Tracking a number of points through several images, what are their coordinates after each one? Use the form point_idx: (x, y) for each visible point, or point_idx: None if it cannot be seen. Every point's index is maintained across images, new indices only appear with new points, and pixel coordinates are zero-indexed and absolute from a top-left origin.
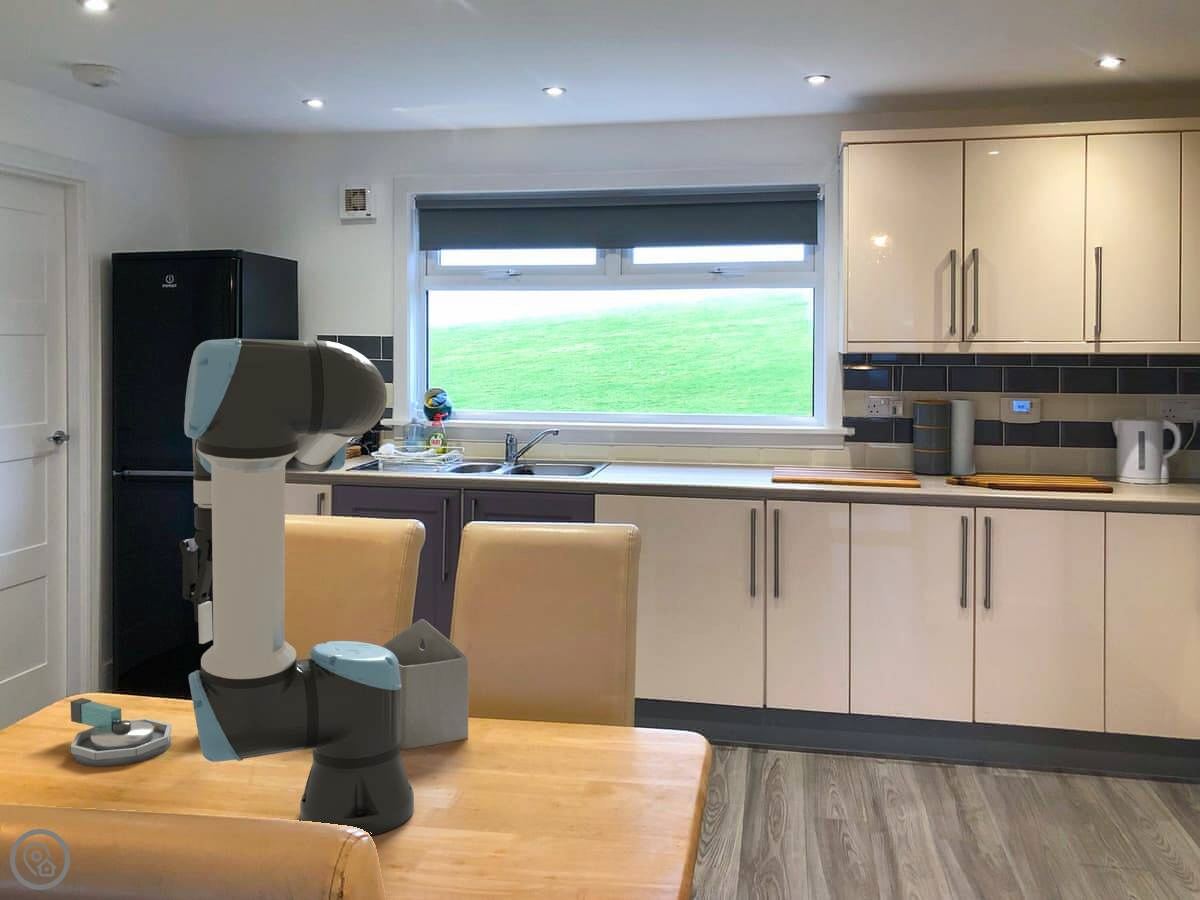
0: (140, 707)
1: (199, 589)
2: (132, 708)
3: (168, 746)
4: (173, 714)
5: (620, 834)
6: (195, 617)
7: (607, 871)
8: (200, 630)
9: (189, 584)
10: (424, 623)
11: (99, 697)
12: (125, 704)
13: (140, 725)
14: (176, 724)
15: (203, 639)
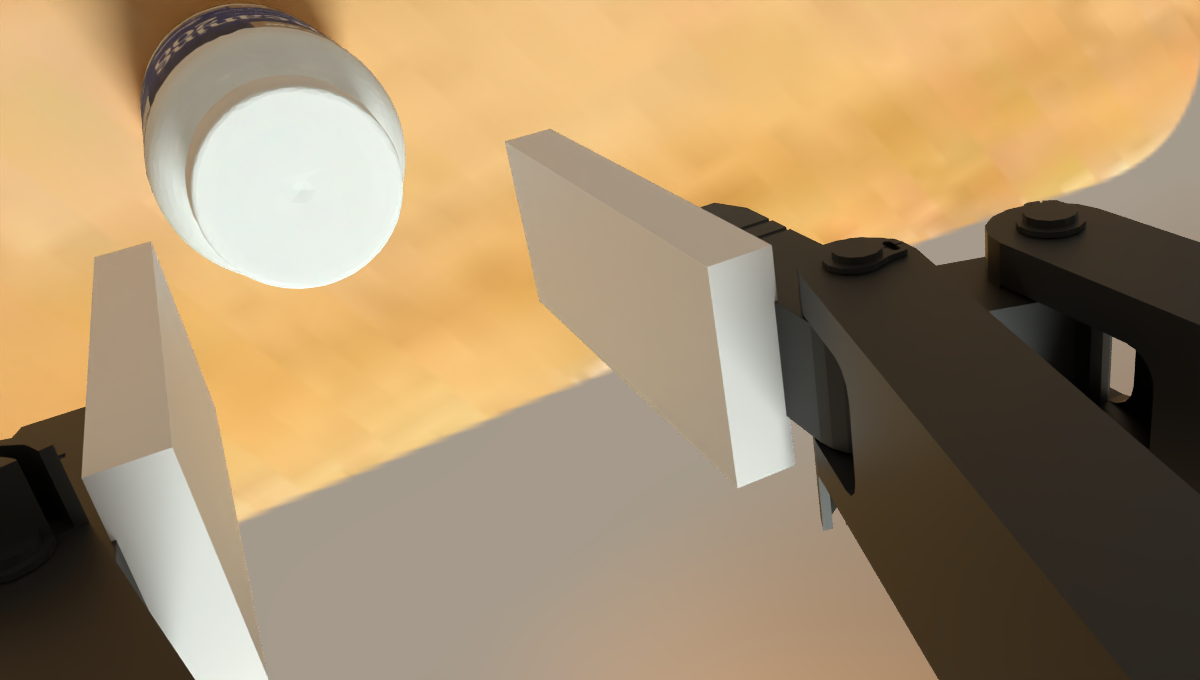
0: (890, 124)
1: (913, 354)
2: (913, 95)
3: None
4: (684, 135)
5: None
6: (746, 216)
7: None
8: (585, 165)
9: (1165, 325)
10: None
11: (1122, 125)
12: (974, 118)
13: None
14: (559, 29)
15: (523, 160)
